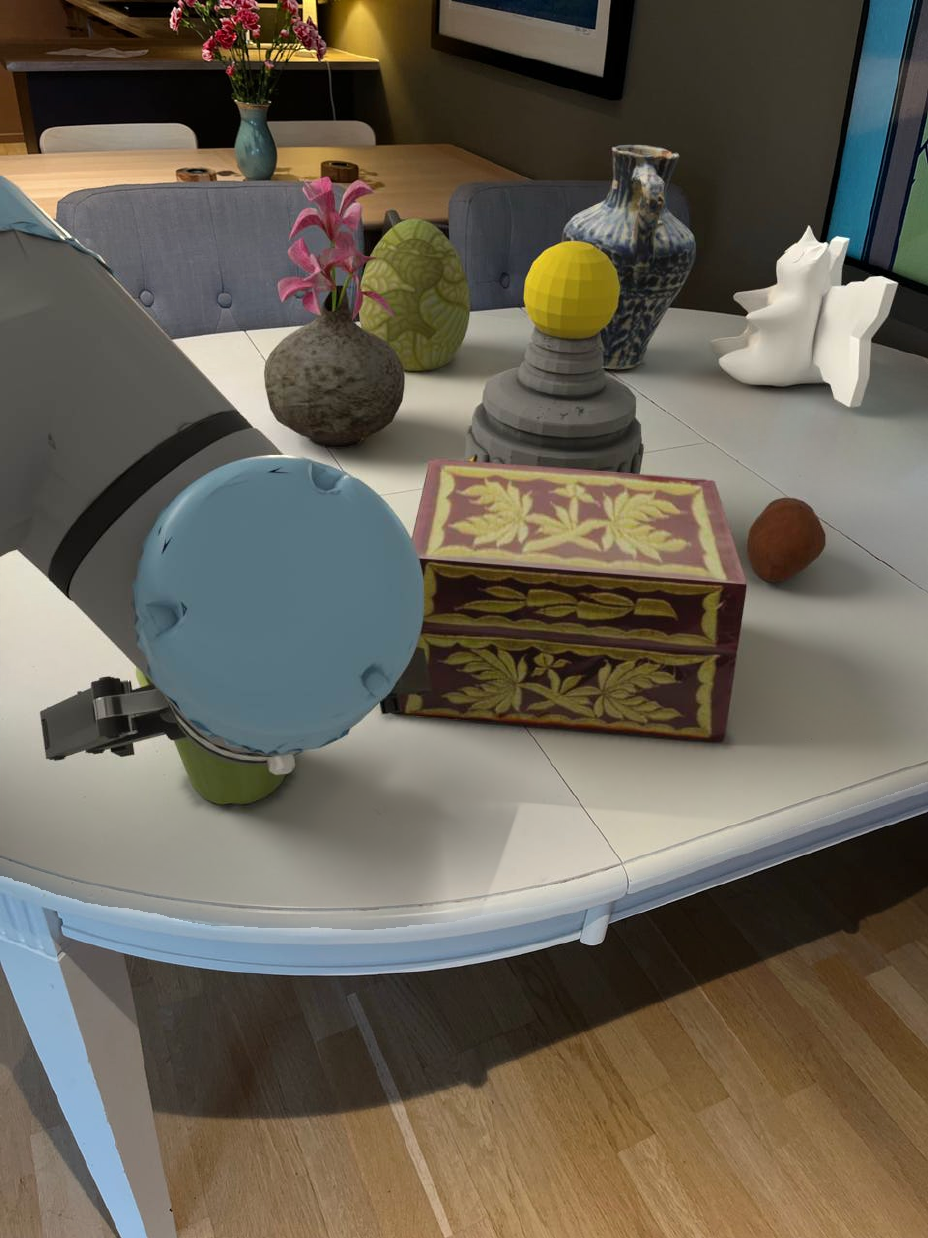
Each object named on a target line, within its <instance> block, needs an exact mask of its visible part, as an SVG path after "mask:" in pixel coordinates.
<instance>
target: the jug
mask: <svg viewBox="0 0 928 1238" xmlns="http://www.w3.org/2000/svg"><path fill="white" fill-rule="evenodd" d="M611 151H612V152H611V155H612V159H611V160H612V173H613V174H612V181H611V185H610V189H609V191H608V193H607V196H606V198H605V199H604V200H602V201H601V202H598V203H596V204H594V205H592V206H590V207H588V208H587V209H583V210H581V211H579V212H578V213H577V214H575V215H573V217H572V216H571V218H570V219H569V221H568V222H567V223H566V224H565V226H564V228H563V231H562V234H561V239H562V240H561V243H562V242H566V241H579V242H585V243H589V244H591V245H593V246H595V247H596V248H597V249H599V250H600V251H602V252H603V253H605V254H606V255H607V256H608V258H609V259H610V261H611V262H612V264H613V265H614V267H615V269H616V270H617V275H618V280H619V285H620V292H619V299H618V306H617V309H616V311H615V313H614V315H613V317H612V319H611V321H610V322H609V323H608V324H607V325H606V326H605V327H604V328H603V329H602V330H601V331H600V335H601V346H600V347H599V348H600V349H601V350H602V351H603V359H604V365H603V366H602V368H603V369H609V370H626V369H632V368H634V367H636V366H637V365H639V364H641V363H642V362H643V360H644V356H645V354H646V351H647V348H648V345H649V342H650V341H651V339H652V337H653V336H654V334H655V333H656V330H657V328H658V327H659V326H660V323H661V322H662V320H663V318H664V316H665V314H666V313H667V312H668V310H669V308H670V306H671V304H672V302H673V301H674V300H675V298H676V297H677V296H678V294H679V293H680V291H681V289H682V288H683V287H684V284H685V283H686V281H687V279H688V277H689V275H690V272H691V270H692V268H693V265H694V263H695V260H696V254H697V244H696V240H695V235H694V234H693V233H692V231H691V230H690V229H689V228H688V227H687V225H685V224H684V223H682V221H680V220H679V219H677V217H675V216H674V215H673V214H672V213H671V212H670V210H668V207H667V204H666V203H667V202H666V193H667V188H668V184H669V183H670V179H671V177H672V174H673V172H674V170H675V167H676V164H677V162H678V161H679V159H680V155H679V153H678V152H676V151H675V152H674V153H673V152H672V151H671V150H670V151H669V150H668V149H665V148H663V147H661V146H653V145H646V144H622V145H621V144H620V145H617V146H613V147H611Z"/></svg>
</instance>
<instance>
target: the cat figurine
mask: <svg viewBox="0 0 928 1238" xmlns="http://www.w3.org/2000/svg"><path fill="white" fill-rule="evenodd" d="M849 243H850V238H849V237H843V236H837V235H836V236H835V237H833V238H831V241H830V243H828V242H827V241H826V242H819V241H818V240H817V239H816V237H815V235H814V233H813V229H812V228H811V226H810V225H807V228H806V230H805V231H804V234H803V235H802V237H801V238H800V239H799V241H797V242H795V243H794V244H792V245H791V246H790V247H788V248H787V249H786V250H785V251H784V253H783V255H782V256H781V257H779V259H778V260H777V261H776V267H775V268H776V269H775V270H776V279H777V280H776V281H777V283H776V284H774V285H771V286H769V287H765V288H760V289H753V290H747V291H739V292H736V293H734V295H733V300H734V301H735V302H736V303H738V304H739V305H740V306H741V307H742V308H743V309H744V310H746V312H747V315H746V316H745V319H746V321H747V322H748V324H747V327H746V329H745V330H744V331H743V333H741V334H740V335H739V336H731V337H729V336H727V337H721V338H717V339H713V340H710V341H709V347H710V348H711V349H712V351H713V352H714V353H715V355H717V356H718V357H720V358H718V364H719V366H720V368H722V370H723V371H724V372H726V374H728V375H729V376H730V377H732V378H733V379H735V380H736V381H739V382H741V383H743V384H746V385H753V386H754V385H755V386H773V387H788V386H793V385H800V384H829V385H830V388H831V392H832V394H833V395H832V396H833V399H834V400H836V401H837V402H839V403H841V404H843V405H844V406H846V407H847V408H856V407H861V405H862V403H863V399H864V397H865V392H866V389H867V386H868V383H869V380H870V369H871V349H872V338H874V336H875V334H876V333H877V331H878V330H879V329H880V328H881V326H882V325H883V324H884V322H885V321H886V319H887V318H888V316H889V314H890V311H891V308H892V305H893V301H894V298H895V295H896V292H897V288H898V286H899V282H897V281H894V280H892V279H890V278H887V277H885V276H883V275H879V276H869V277H868V278H866V279H865V280H864V281H851V282H849V283H848V284H846V285H842V275H843V274H842V273H843V265H844V261H845V258H846V254H847V251H848V247H849Z"/></svg>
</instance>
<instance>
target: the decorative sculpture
mask: <svg viewBox="0 0 928 1238" xmlns="http://www.w3.org/2000/svg"><path fill="white" fill-rule="evenodd" d="M369 257H376V258H375V259H372V260H370V261H368V262H367V263H365V267H364V271H363V274H362V277H361V281H360V287H361V289H362V292H364V291H373V292H375V293H377V294H379V295H380V296H381V297H382V298H383V299H384V300H385V301H386V302H387V304H388V306H389V308H390V309H391V311H392V313H393V315H394V317H395V318H393V317H392V316H391V315H390V314H389V313H388V312H387V311H386V310H385V309H383V308H382V307H381V306H380V305H379V304H378V303H377V302H375V301H374V300H372V299H371V298H369V297H367V296H365V295H364V294H363V303H362V306H361V308H360V310H359V312H358V315H359V324H360V327H361V328H362V329H364V330H366V331H368V332H370V333H372V334H374V335H376V336H377V337H379V338H381V339H383V340H385V341H386V342H387V343H388V344H389V345H390V346H392V347H393V348H394V350H395V352H396V354H397V355H398V357H399V359H400V361H401V363H402V365H403V369H404V371H409V372H424V371H432V370H436V369H439V368H443V367H444V366H445V365H447V364H448V363H450V361H451V360H452V359H453V358H454V357H455V356H456V354H457V353H458V351H459V350H460V348H461V346H462V344H463V342H464V339H465V337H466V334H467V331H468V327H469V321H470V314H471V298H470V288H469V283H468V278H467V274H466V271H465V268H464V266H463V263H462V261H461V258H460V256H459V254H458V252H457V251H456V248H455V247H454V245H453V244H452V243H451V241H450V240H449V238H448V237H447V236H446V234H444V233H443V231H442V230H441V229H439V228H438V227H437V226H436V225H434V224H433V223H431V222H429V221H427V220H424V219H420V218H410V219H405V220H402V221H400V222H398V223H396V224H395V225H393V226H392V227H391V228H390V229H389V230H387V232H386V233H385V234H384V235H383V236H382V238H380V240H379V241H378V242H377V243H376V245H375V247H374V249H373V250H372V252H371V253H370V256H369Z"/></svg>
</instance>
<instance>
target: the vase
mask: <svg viewBox="0 0 928 1238" xmlns="http://www.w3.org/2000/svg"><path fill="white" fill-rule="evenodd" d="M301 181H302V182H303V183H304V184H305V185H304V186H302V192H303V193H304V194H305V195H306V197H307V200H308V201H310V202H314V203H315V204H316V206H317V208H318V209H317V208H314V207H309V206H308V207H307V208H304V209H303V210H301V212H300V213H299V214H298V216H297V218H296V220H295V223H294V225H293V226H292V230H291V231H290V234H289V238H288V241H291V240H292V239H293V238H294V237H295V236H296V235H298V234H299V232H301V231H303V230H304V229H306V228H308V227H310V226H318V227H319V228H320V229H321V230H322V231H323V232H324V233H325V235H326V237H327V238H328V241H330V242H329V243H330V247H329V248H325V249H323V250H322V251H321V252H320V253H319V254H318V255H317V256H316V257H315V255H314V254H313V253H310V251H309V249H308V246H307V244H306V241H305V239H304V236H300V238H299V239H298V240H296V241H295V242H294V243H292V245H291V246H290V247H289V248H288V250H287V255H288V256H289V258H290V260H291V261H292V262H293V263H294V264H296V266H297V267H299V268H300V269H302V270H303V271H305V272H307V273H309V276H307V277H305V278H304V277H299V276H290V277H284V278H282V279H280V280H279V281H278V283H277V289H278V290H277V291H278V296H279V298H280V301H281V303H282V304H283V303H284V302H286V301H287V300H289V299H290V298H291V297H292V296H294V295H295V294H297V293H298V292H306V293H305V295H304V296H303V297H302V306H303V308H304V309H305V310H306V311H308V312H309V313H312V314H314V315H317V317H316V318H315V319H314V320H313V321H311V322H309V323H306V324H304V325H303V326H300V327H301V328H300V327H299V328H298V329H296V330H294V331H293V332H291V333H290V334H288V335H287V336H285V337H284V338H283V339H282V340H281V341H279V342H278V344H277V345H276V346H275V347H274V349H273V350H272V351H270V353H269V355H268V356H267V359H266V361H265V363H264V370H263V378H264V387H265V392H266V396H267V401H268V406H269V410H270V412H271V413H272V415H273V416H274V418H275V419H276V421H277V422H278V423H279V424H281V425H283V426H285V427H286V428H288V429H290V431H293V432H295V433H296V434H298V435H300V436H302V437H303V438H306V439H309V440H310V442H312V443H313V444H314V445H316V446H320V447H323V448H327V449H348V448H349V449H350V448H353V447H354V446H358V445H359V444H360V443H361V442H362V441H363V440H365V439H367V438H371V437H373V436H374V435H375V434H377V433H379V432H381V431H382V430H384V429H385V428H386V427H387V426H389V425H390V424H391V423H393V420H394V418H395V417H396V415H397V413H398V411H399V409H400V407H401V405H402V403H403V399H404V393H405V385H406V384H405V380H406V376H405V375H406V373H405V370H404V369H403V365H402V363H401V361H400V359H399V357H398V355H397V354H396V352H395V350H394V348H393V347H392V346H390V345H389V344H388V343H387V342H386V341H385V340H383V339H381V338H379V337H377V336H376V335H374V334H372V333H370V332H368V331H366V330H364V329H362V328H361V326H359V325H358V323H356V322H355V320H354V319H356V317H357V315H359V310H360V308H361V306H362V303H363V294H364V295H365V296H367V297H369V298H371V299H372V300H374V301H375V302H377V303H378V304H379V305H380V306H381V307H382V308H383V309H385V310H386V311H387V312H388V313H389V314H390V315H391V316H392V317H393V318H395V317H394V315H393V313H392V311H391V309H390V308H389V306H388V304H387V302H386V301H385V300H384V299H383V298H382V297H381V296H380V295H379V294H377V293H375V292H373V291H364V292H362V289H361V287H360V286H361V284H360V280H359V277H358V276H357V275H356V274H355V272H356V271H358V270H360V269H361V268H362V267H363V266H364V265H366V264H367V262H368V261H370V260H372V259H375V258H376V257H370V256H367V255H364V254H363V253H362V252H361V251H359V250H358V249H356V243H355V239H354V237H353V235H352V233H354V232H358V229H359V225H360V221H361V218H362V213H363V207H362V205H361V203H360V202H357V201H356V200H358V199H359V198H361V197H365V196H367V195H373V194H375V192H374V190H373V189H372V188H371V186H369V185H368V184H366V182H364V181H363V180H359V179H357V180H355V181H353V182H352V183H351V184H349V186H348V187H347V189H346V190H345V192H344V193H343V196H342V199H341V203H340V206H339V208H338V209H339V210H338V211H337V209H336V200H335V199H336V198H335V193H334V187H333V182H332V181H331V179H330V177H329V176H324V177H321V178H318V179H315V180H313V181H312V182H310V183H308V182H307V181H306V179H304V178H301ZM355 201H356V202H355ZM319 211H320V212H319ZM343 225H344V226H345V227H346V228H347V229H348V230H349V231H350V232H352V233H350V232H349V231H345V230H343V231H342V230H341V229H342V226H343ZM336 268H340V270H342V271H343V272H347V273H348V275H347V277H346V280H345V282H344V285H343V284H337V285H336ZM352 279H353V280H354V281H355V282H356V294H355V298H354V304H353V305H354V306H353V310H352V311H353V312H352V313H351V309H350V308H351V307H350V305H349V304H350V302H349V298H348V292H347V288H348V286H349V284H350V281H351V280H352ZM309 290H311V291H309ZM307 291H308V292H307ZM324 292H328V294H327V296H326V297H325V299H324V301H323V303H322V305H320V302H319V301H320V300H319V295H320V294H321V293H324Z"/></svg>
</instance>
